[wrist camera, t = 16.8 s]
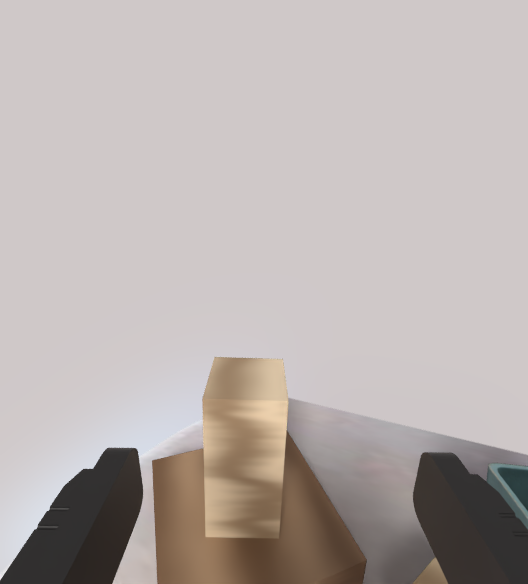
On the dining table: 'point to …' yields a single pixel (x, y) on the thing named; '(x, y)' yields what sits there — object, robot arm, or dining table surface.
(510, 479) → the flower pot
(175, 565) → the walnut slab
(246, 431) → the oak pillar
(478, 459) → the dining table surface
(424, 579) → the oak cube
